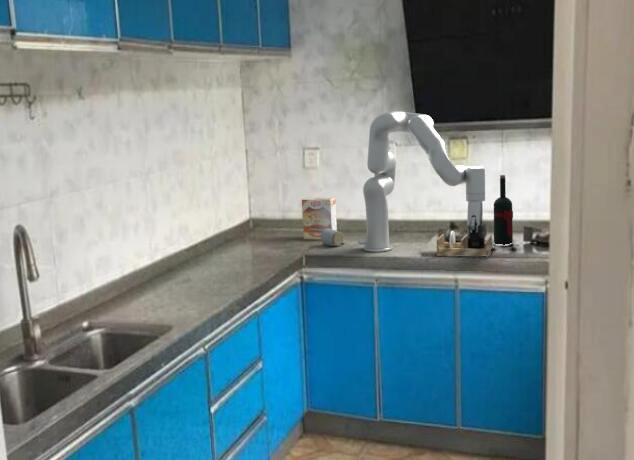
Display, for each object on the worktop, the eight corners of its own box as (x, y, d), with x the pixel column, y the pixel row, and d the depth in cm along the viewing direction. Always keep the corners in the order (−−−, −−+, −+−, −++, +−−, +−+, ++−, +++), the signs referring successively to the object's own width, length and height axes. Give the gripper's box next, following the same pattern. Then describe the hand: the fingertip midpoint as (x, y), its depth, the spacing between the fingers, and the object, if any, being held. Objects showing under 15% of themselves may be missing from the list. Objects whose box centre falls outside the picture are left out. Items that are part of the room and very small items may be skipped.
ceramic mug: (333, 248, 320) (332, 231, 318) (320, 246, 325) (320, 229, 324) (349, 244, 327) (349, 227, 326) (337, 242, 333) (336, 226, 331)
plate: (449, 253, 293) (449, 232, 291) (453, 249, 301) (453, 228, 299) (451, 253, 292) (451, 232, 291) (455, 249, 300) (455, 228, 299)
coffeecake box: (303, 239, 344) (301, 199, 340) (309, 236, 350) (306, 197, 347) (332, 240, 338) (330, 199, 335) (337, 237, 345) (335, 197, 341)
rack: (437, 255, 293) (436, 239, 292) (442, 249, 304) (442, 234, 303) (487, 257, 286) (487, 240, 285) (491, 250, 297) (491, 234, 295)
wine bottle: (502, 248, 300) (501, 177, 295) (490, 244, 310) (489, 175, 305) (519, 246, 302) (518, 175, 297) (506, 242, 312) (506, 173, 307)
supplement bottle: (465, 248, 291) (465, 219, 289) (470, 245, 297) (469, 217, 295) (482, 249, 288) (482, 220, 286) (486, 246, 294) (486, 217, 292)
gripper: (469, 194, 298) (470, 236, 302) (462, 200, 282) (463, 244, 286) (488, 194, 296) (488, 236, 299) (481, 200, 280) (482, 245, 283)
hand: (475, 240), depth 292 cm, fingers closed on supplement bottle, 6 cm apart
